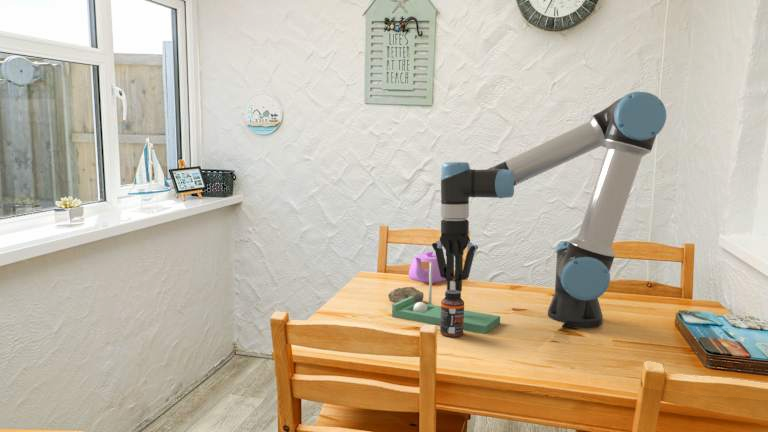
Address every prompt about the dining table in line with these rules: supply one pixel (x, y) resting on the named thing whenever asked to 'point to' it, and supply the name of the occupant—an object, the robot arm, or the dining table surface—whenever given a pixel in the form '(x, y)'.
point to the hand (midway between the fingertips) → (454, 303)
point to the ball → (420, 307)
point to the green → (433, 316)
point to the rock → (405, 294)
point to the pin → (429, 267)
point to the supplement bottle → (452, 314)
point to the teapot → (423, 274)
